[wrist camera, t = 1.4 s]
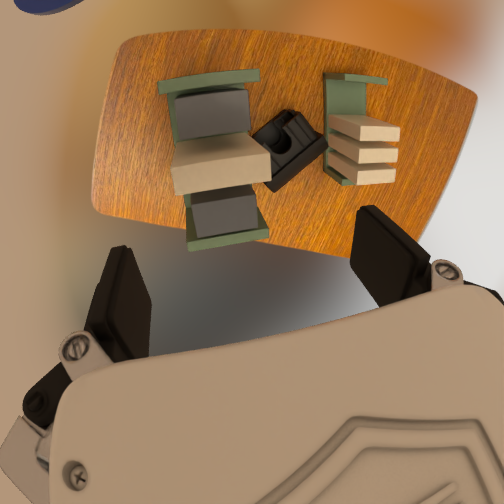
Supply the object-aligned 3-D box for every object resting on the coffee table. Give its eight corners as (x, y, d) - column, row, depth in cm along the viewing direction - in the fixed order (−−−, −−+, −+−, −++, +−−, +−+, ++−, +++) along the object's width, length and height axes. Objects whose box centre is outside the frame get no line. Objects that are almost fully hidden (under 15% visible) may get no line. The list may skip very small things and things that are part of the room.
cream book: (176, 142, 24) (170, 167, 17) (245, 132, 25) (270, 152, 18) (179, 162, 25) (175, 196, 18) (247, 151, 26) (271, 181, 19)
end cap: (266, 182, 42) (279, 200, 37) (235, 150, 39) (244, 163, 33) (315, 140, 40) (335, 152, 34) (288, 105, 36) (305, 111, 31)
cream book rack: (322, 72, 34) (359, 74, 26) (362, 75, 35) (403, 80, 27) (323, 171, 43) (354, 196, 35) (359, 168, 44) (394, 191, 36)
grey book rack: (173, 82, 31) (156, 81, 15) (226, 74, 32) (261, 68, 16) (187, 176, 39) (188, 255, 23) (235, 168, 40) (270, 241, 24)
